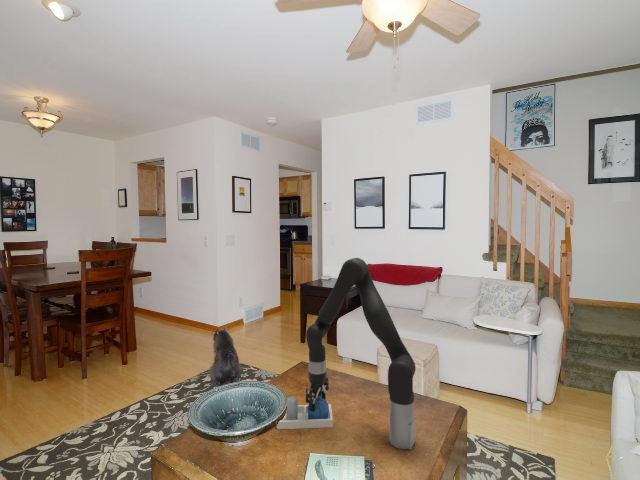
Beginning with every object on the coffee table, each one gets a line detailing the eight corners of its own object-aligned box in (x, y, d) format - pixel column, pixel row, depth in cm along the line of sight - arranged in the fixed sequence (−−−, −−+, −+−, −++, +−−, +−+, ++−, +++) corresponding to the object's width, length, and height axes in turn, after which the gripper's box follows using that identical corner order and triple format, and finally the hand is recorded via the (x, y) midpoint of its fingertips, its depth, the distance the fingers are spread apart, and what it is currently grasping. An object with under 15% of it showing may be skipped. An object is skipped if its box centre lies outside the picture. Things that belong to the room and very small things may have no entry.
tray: (330, 412, 153) (330, 404, 152) (332, 429, 141) (332, 420, 140) (279, 414, 152) (279, 405, 151) (276, 431, 140) (276, 422, 139)
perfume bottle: (320, 425, 142) (319, 397, 141) (308, 420, 145) (307, 393, 145) (328, 417, 147) (327, 390, 146) (316, 413, 151) (316, 387, 150)
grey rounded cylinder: (300, 418, 147) (299, 398, 146) (294, 424, 143) (293, 404, 142) (290, 415, 149) (289, 395, 148) (284, 421, 145) (283, 401, 144)
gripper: (315, 378, 137) (315, 417, 138) (333, 365, 149) (333, 401, 150) (300, 373, 141) (300, 411, 142) (319, 361, 153) (319, 396, 154)
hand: (317, 406), depth 146 cm, fingers open, 8 cm apart
